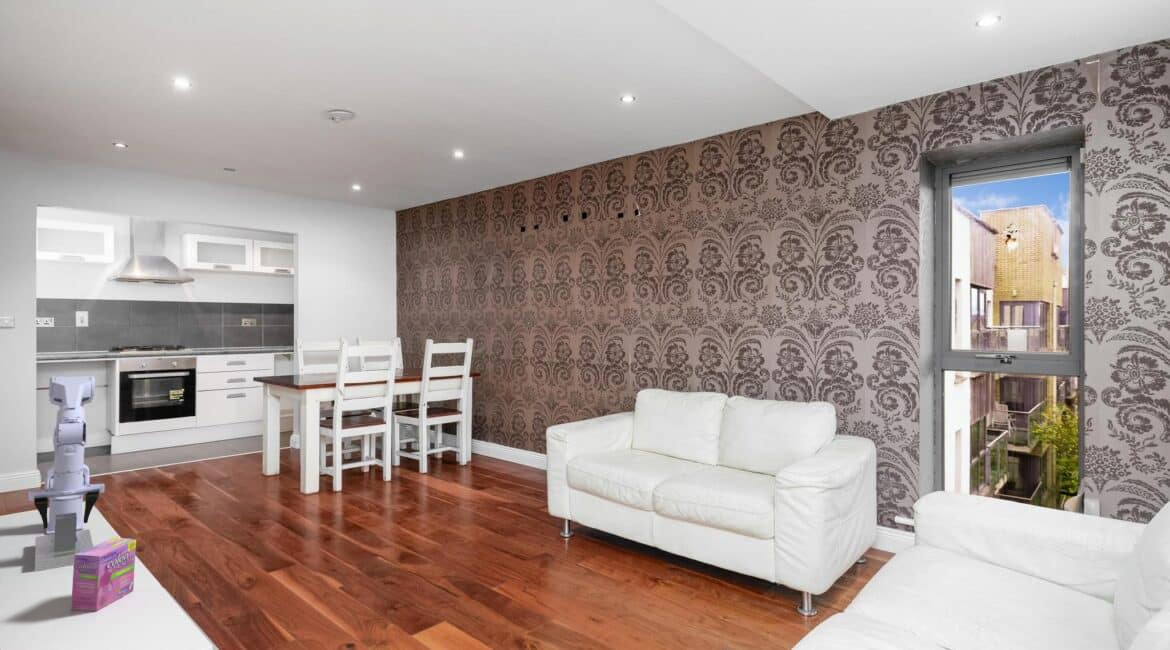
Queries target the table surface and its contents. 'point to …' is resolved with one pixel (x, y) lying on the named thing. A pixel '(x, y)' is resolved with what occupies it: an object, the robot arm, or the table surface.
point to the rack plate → (51, 559)
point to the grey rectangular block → (65, 531)
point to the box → (103, 574)
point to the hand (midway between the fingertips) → (65, 524)
